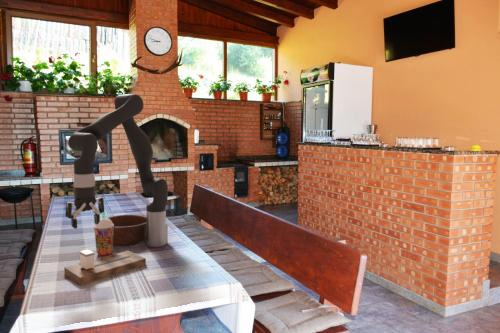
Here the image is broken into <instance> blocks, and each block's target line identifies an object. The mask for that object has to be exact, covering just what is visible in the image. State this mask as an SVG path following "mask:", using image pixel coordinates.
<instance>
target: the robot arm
mask: <svg viewBox="0 0 500 333" xmlns="http://www.w3.org/2000/svg"><path fill="white" fill-rule="evenodd" d="M113 101H114V110H113V111H110V112H108V113H105V114H103V115H102V116H100V117H98V118H96V119H95V120H94V121H93V122H91V123H89V124H88V125H87V126H84V127H82V128H80V129H78V130H76V131H74V132H73V133H72V134H71V135H69V138H68V142H67V144H68V147H69V149H71V150H72V151H75V152H81V155H80V157H76V158H75V159H74V161H73V196H74V200H73V201H66V202H65V218H68V219H70V222H71V223H70V224H71V227H72V228H73V229H74V230H75V229H78V219H77V218H78V216H79V215H80V214H81V213H83V212H87V211H88V212H89V211H91V212H93V213H94V215H93V219H94V220H93V223H94V225H95V224H99V222H100V218H101V214H103V212H104V213H105V202H104V198H103V197H101V196H98V197H97V198H96V179H95V169H94V168H95V167H94V164H95V163H94V162H95V159H96V155H97V150H98V144H99V142H98V141H101V140H103V139H104V138H105V137H106V136H107V135H109V133H111V132H112V131H113V130H114V129H116V128H117V127H118V126H122V127H123V130H124V132H125V135H126V138H127V140H128V144H129V146H130V147H129V148H130V150H131V153H132V156H133V158H134V161H135V165H136V167H137V170H138V175H139V179H140V184H141V188H142V189H141V190H143V193H144V194H145V195H146V196H148V197H149V196H150V197H153V198H152V199H153V200H152V202H149V203H148V204H147V205H146V207H145V209H146V217H147V237H146V246H148V247H151V248H158V247H163V246H165V245H167V244H168V242H169V241H168V240H169V238H168V235H169V234H168V233H169V230H168V229H169V228H168V226H169V224H167V216H166V215H167V213H166V211H167V205H168V195H169V194H168V193H169V192H168V191H169V185H168V182H167V180H166V179H164V178H161V177H155V176H154V173H153V171H152V166H151V165H152V162H153V156H154V150H153V146H152V143H151V140H150V138H149V137H148V135H147V134H146V133H145V132H144V130H142V128H141V127H140V126H139V125H138V124H137V122H136V121H135V119H134V117H135V116H137V115H139V114H140V113H142V111H143V109H144V100H143V98H142V97H141V95H139V94H136V93H126V94H118V95H117V96H115V99H114V100H113ZM96 203H97V205H98V208H97V206H95V205H96ZM74 206H75V208H74V209H73V207H74ZM72 209H73V210H72Z"/></svg>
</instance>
